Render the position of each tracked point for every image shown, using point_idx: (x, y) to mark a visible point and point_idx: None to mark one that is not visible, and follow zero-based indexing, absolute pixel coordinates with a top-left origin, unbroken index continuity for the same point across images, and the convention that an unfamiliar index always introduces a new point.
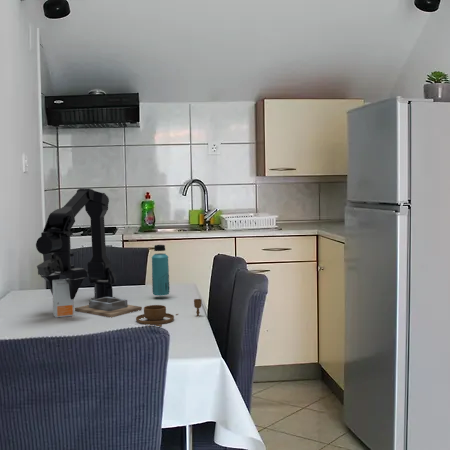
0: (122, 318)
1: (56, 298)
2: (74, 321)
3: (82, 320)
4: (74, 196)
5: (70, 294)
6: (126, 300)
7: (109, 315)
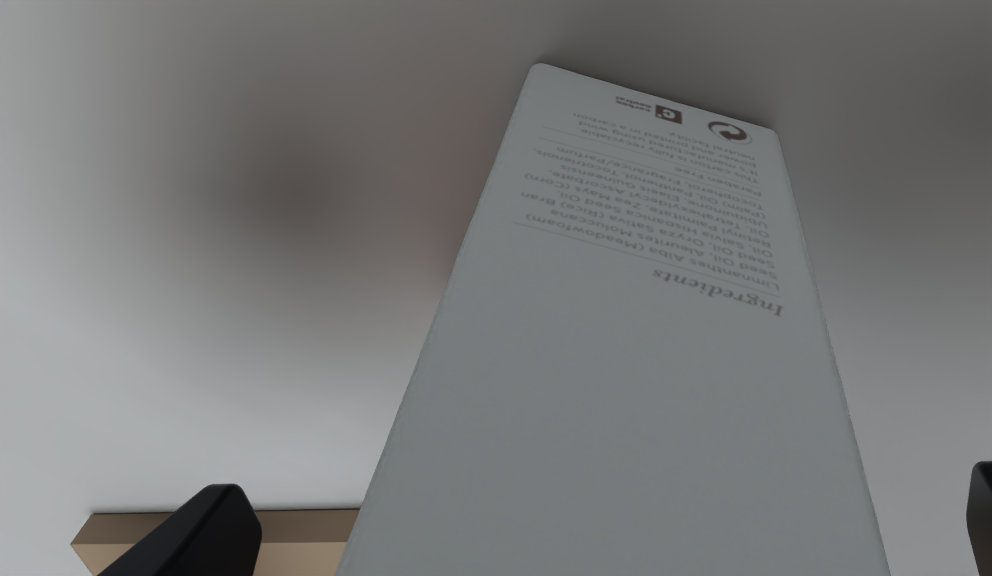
0: (3, 546)
1: (444, 304)
2: (97, 151)
3: (107, 259)
4: None
5: (130, 570)
6: None
7: (101, 532)
